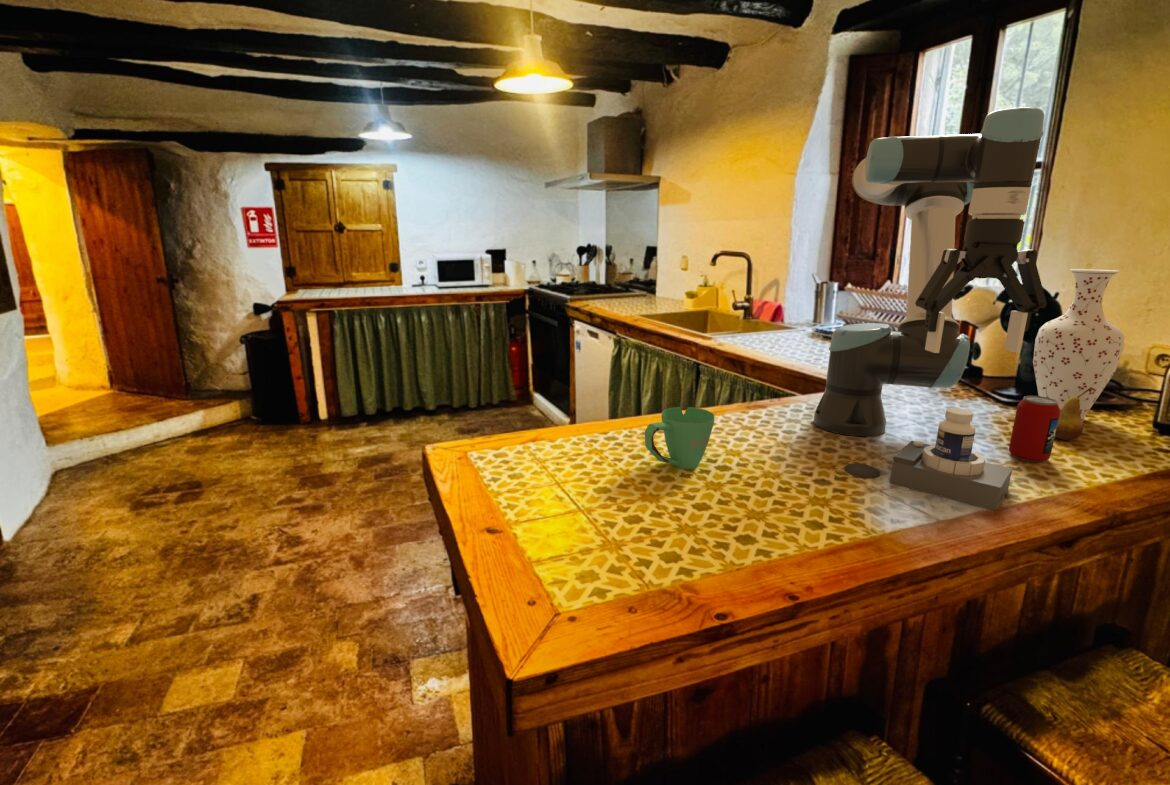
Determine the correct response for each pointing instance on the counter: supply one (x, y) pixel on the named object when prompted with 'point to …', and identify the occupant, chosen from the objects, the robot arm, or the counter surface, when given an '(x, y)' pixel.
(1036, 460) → the beverage can
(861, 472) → the lens cap
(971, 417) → the pill bottle
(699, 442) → the mug
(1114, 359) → the vase
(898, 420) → the counter surface
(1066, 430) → the fruit
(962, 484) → the camera body
